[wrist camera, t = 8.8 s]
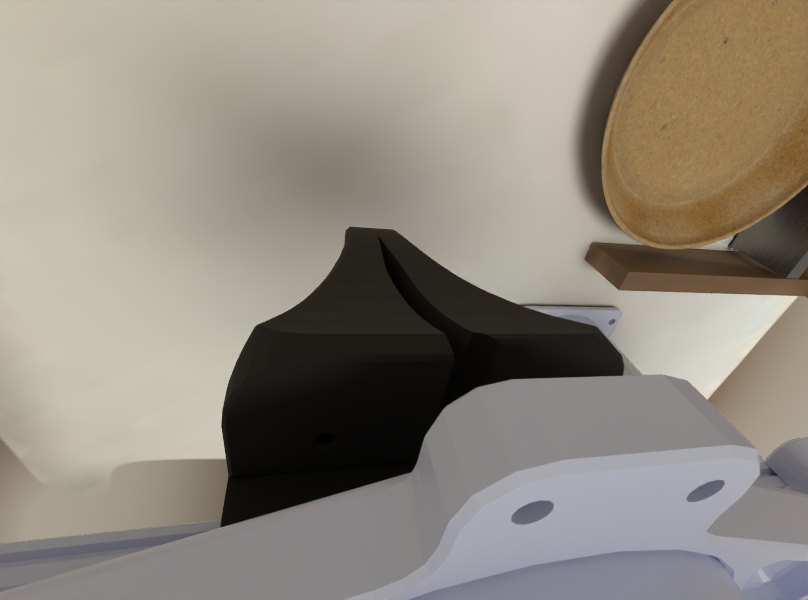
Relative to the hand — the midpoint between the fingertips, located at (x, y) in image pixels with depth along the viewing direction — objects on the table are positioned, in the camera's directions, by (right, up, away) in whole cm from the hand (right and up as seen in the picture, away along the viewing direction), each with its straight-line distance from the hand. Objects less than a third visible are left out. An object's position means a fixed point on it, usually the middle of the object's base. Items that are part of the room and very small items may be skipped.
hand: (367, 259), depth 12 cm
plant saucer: (+17, +9, +10) cm, 22 cm away
